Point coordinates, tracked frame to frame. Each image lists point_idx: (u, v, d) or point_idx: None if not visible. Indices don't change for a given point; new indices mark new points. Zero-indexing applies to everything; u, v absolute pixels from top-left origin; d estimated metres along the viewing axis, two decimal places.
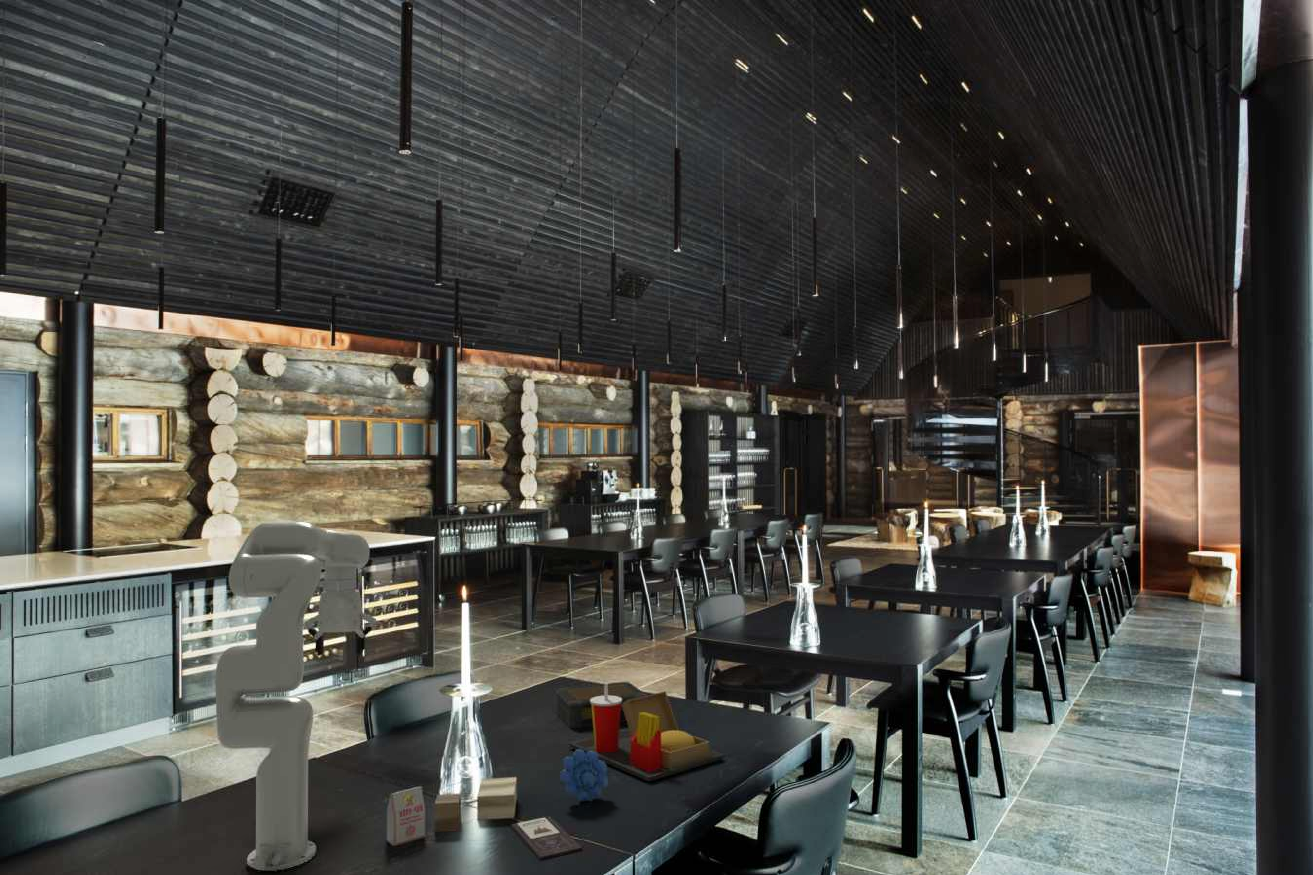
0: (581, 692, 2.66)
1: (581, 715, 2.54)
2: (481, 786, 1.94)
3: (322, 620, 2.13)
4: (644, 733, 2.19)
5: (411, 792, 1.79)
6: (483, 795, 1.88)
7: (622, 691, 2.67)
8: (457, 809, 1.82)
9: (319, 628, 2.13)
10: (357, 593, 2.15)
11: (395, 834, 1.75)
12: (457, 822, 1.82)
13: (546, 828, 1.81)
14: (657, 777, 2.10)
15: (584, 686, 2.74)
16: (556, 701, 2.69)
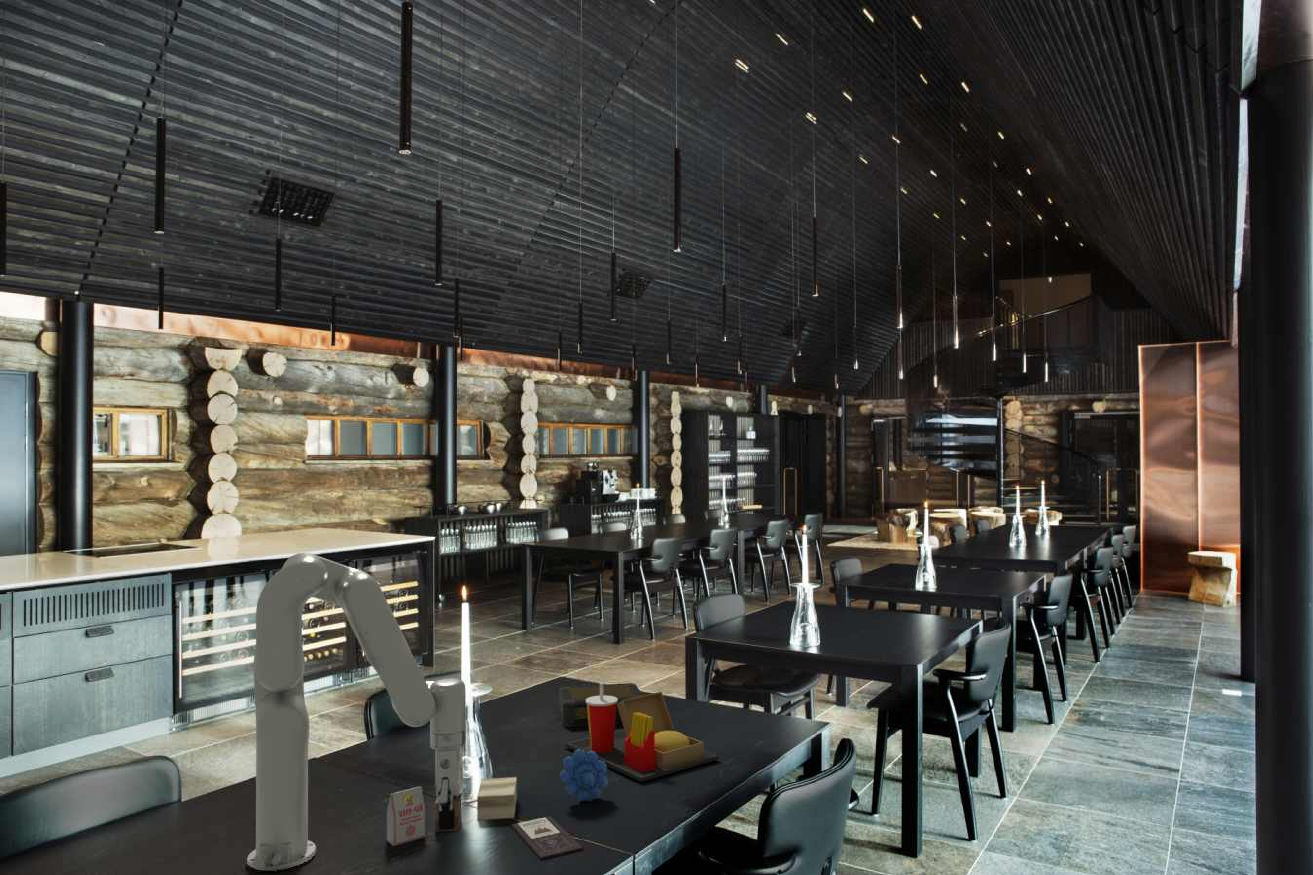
0: (581, 691, 2.67)
1: (574, 715, 2.55)
2: (481, 786, 1.94)
3: (458, 781, 1.81)
4: (638, 733, 2.19)
5: (411, 792, 1.79)
6: (483, 795, 1.88)
7: (621, 692, 2.65)
8: (457, 809, 1.82)
9: (458, 792, 1.81)
10: None
11: (395, 834, 1.75)
12: (457, 822, 1.82)
13: (546, 828, 1.81)
14: (649, 777, 2.09)
15: (588, 686, 2.74)
16: (559, 699, 2.71)
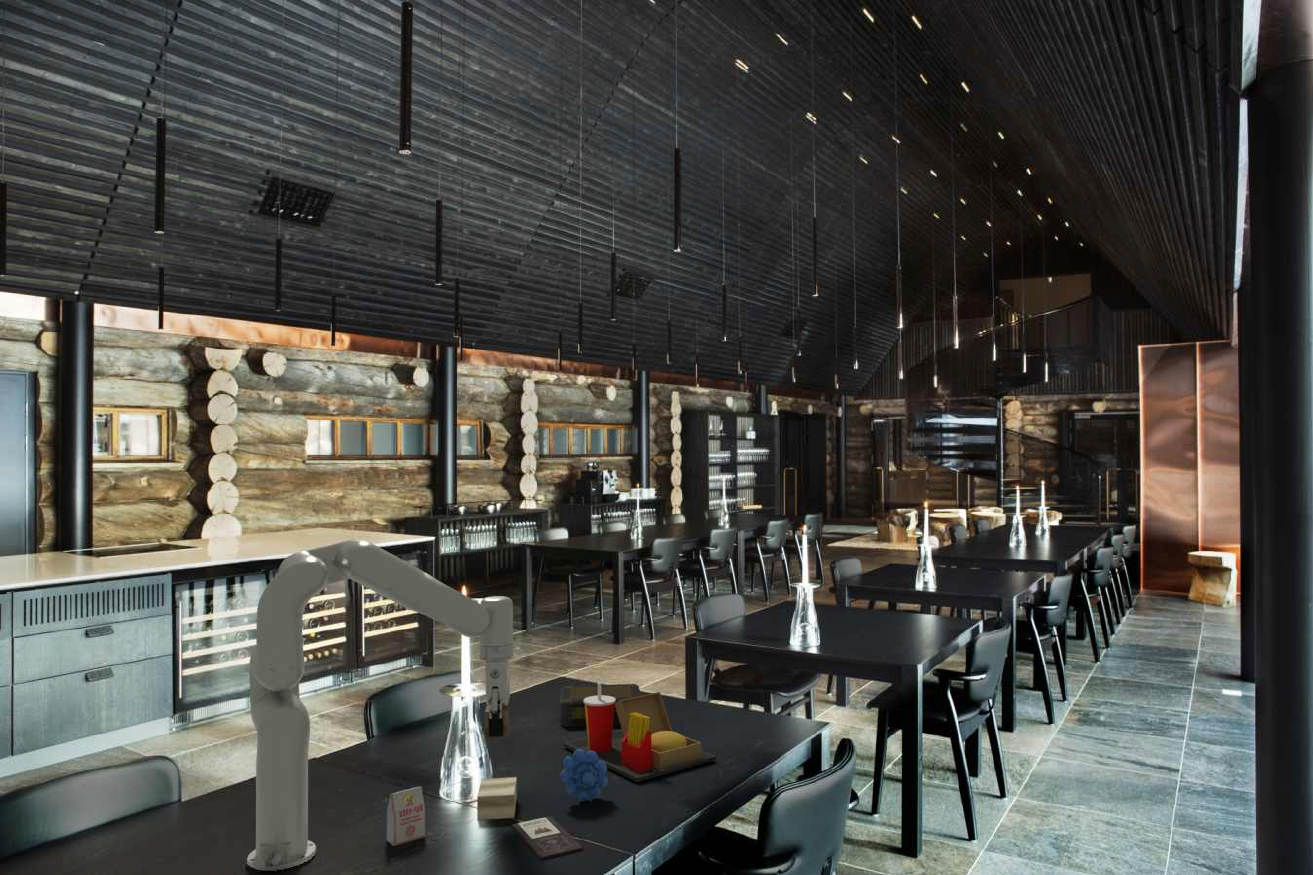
0: (581, 691, 2.67)
1: (571, 714, 2.56)
2: (481, 786, 1.94)
3: (507, 691, 1.91)
4: (635, 733, 2.19)
5: (411, 792, 1.79)
6: (483, 795, 1.88)
7: (621, 693, 2.65)
8: (506, 717, 1.92)
9: (507, 701, 1.90)
10: None
11: (395, 834, 1.75)
12: (506, 730, 1.92)
13: (547, 828, 1.81)
14: (646, 778, 2.09)
15: (590, 685, 2.74)
16: None
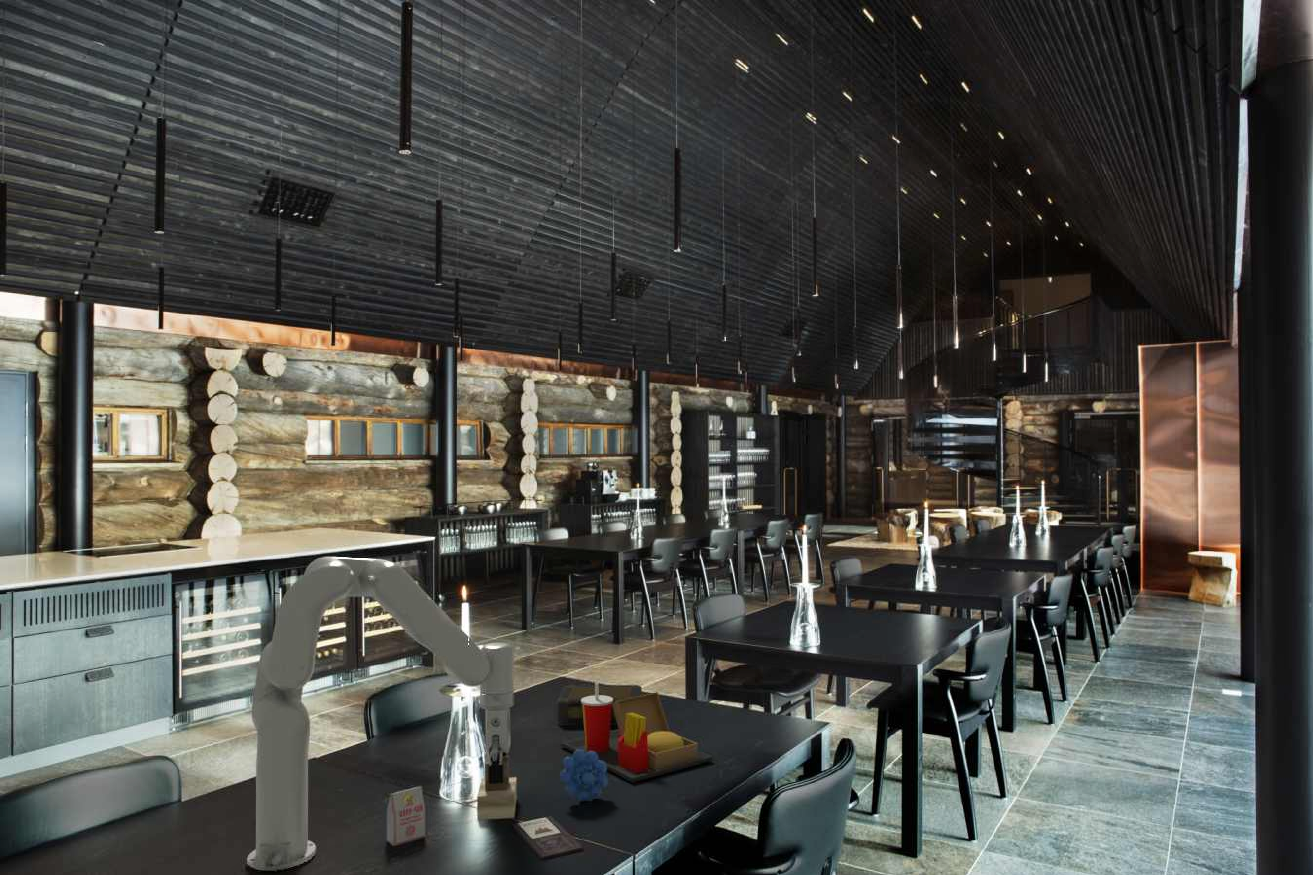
0: (582, 691, 2.68)
1: (567, 713, 2.56)
2: (481, 786, 1.94)
3: (508, 739, 1.91)
4: (631, 734, 2.18)
5: (411, 792, 1.79)
6: (483, 795, 1.88)
7: (620, 694, 2.64)
8: (506, 769, 1.92)
9: (507, 749, 1.90)
10: None
11: (395, 834, 1.75)
12: (506, 782, 1.91)
13: (547, 828, 1.81)
14: (641, 778, 2.09)
15: (593, 685, 2.74)
16: None
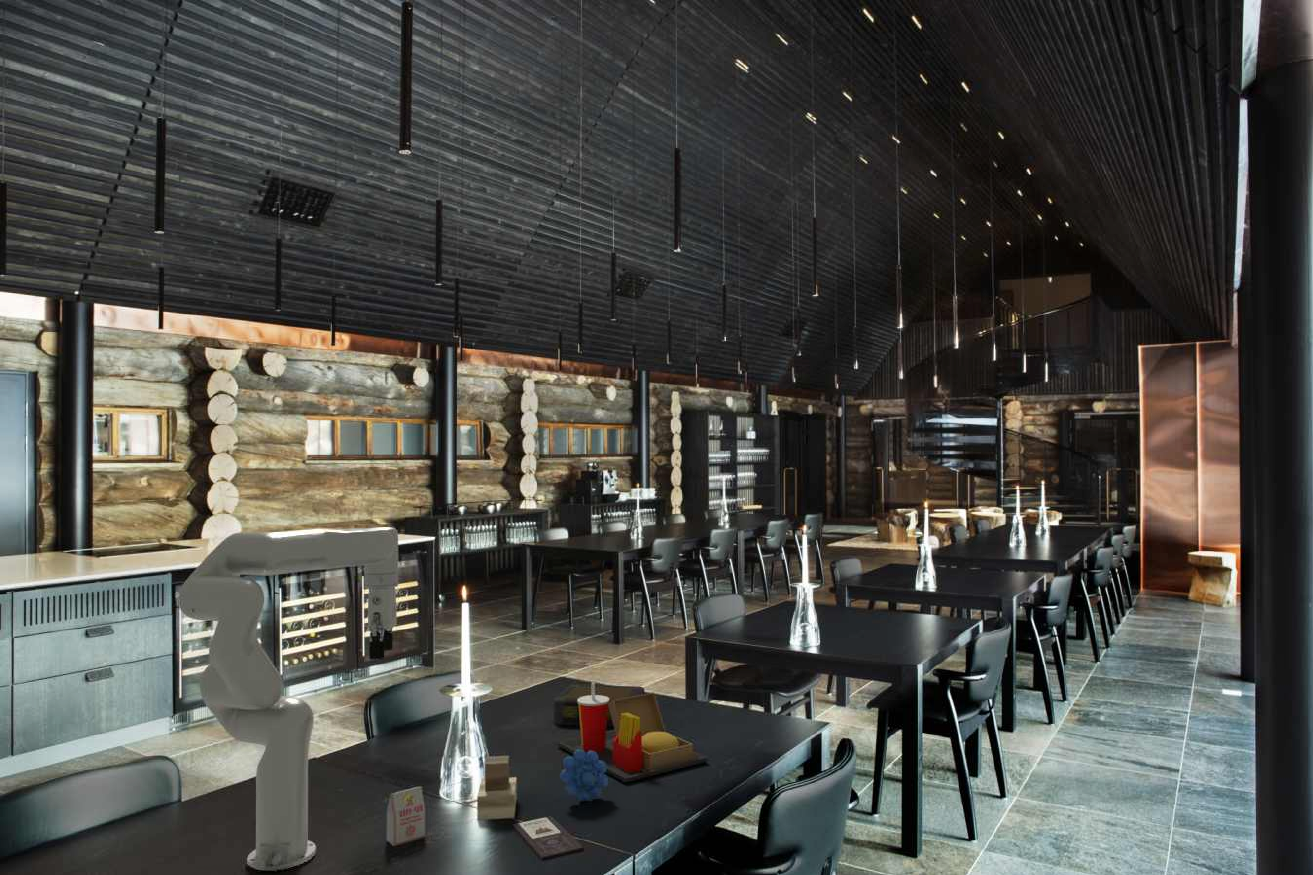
0: (583, 690, 2.68)
1: (562, 712, 2.58)
2: (481, 786, 1.94)
3: (390, 618, 1.96)
4: (625, 734, 2.18)
5: (411, 792, 1.79)
6: (483, 795, 1.88)
7: (618, 695, 2.62)
8: (506, 769, 1.92)
9: (389, 627, 1.95)
10: None
11: (395, 834, 1.75)
12: (506, 782, 1.91)
13: (547, 828, 1.81)
14: (634, 778, 2.09)
15: (597, 685, 2.74)
16: None
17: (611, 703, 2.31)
